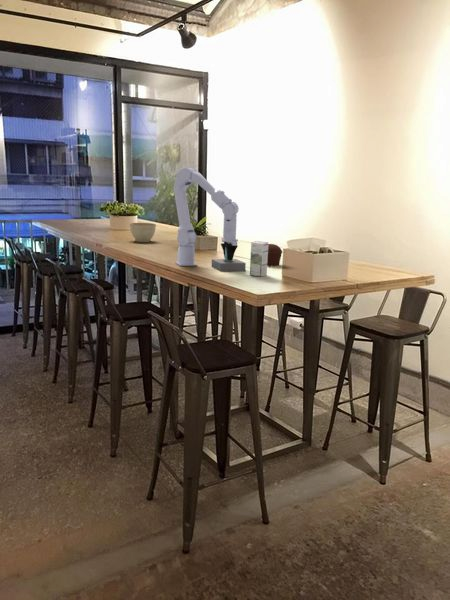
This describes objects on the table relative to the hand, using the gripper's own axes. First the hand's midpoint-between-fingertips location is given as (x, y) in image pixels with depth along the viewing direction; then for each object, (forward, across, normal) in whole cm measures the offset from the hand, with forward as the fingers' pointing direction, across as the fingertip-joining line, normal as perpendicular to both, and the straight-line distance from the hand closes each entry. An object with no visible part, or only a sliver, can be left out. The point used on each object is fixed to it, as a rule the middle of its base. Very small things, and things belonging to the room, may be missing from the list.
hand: (228, 259), depth 237 cm
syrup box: (+4, -18, -7) cm, 20 cm away
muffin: (+4, +8, -25) cm, 27 cm away
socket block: (+4, 0, 0) cm, 4 cm away
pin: (+2, 0, 0) cm, 2 cm away
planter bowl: (+4, +103, +18) cm, 105 cm away
